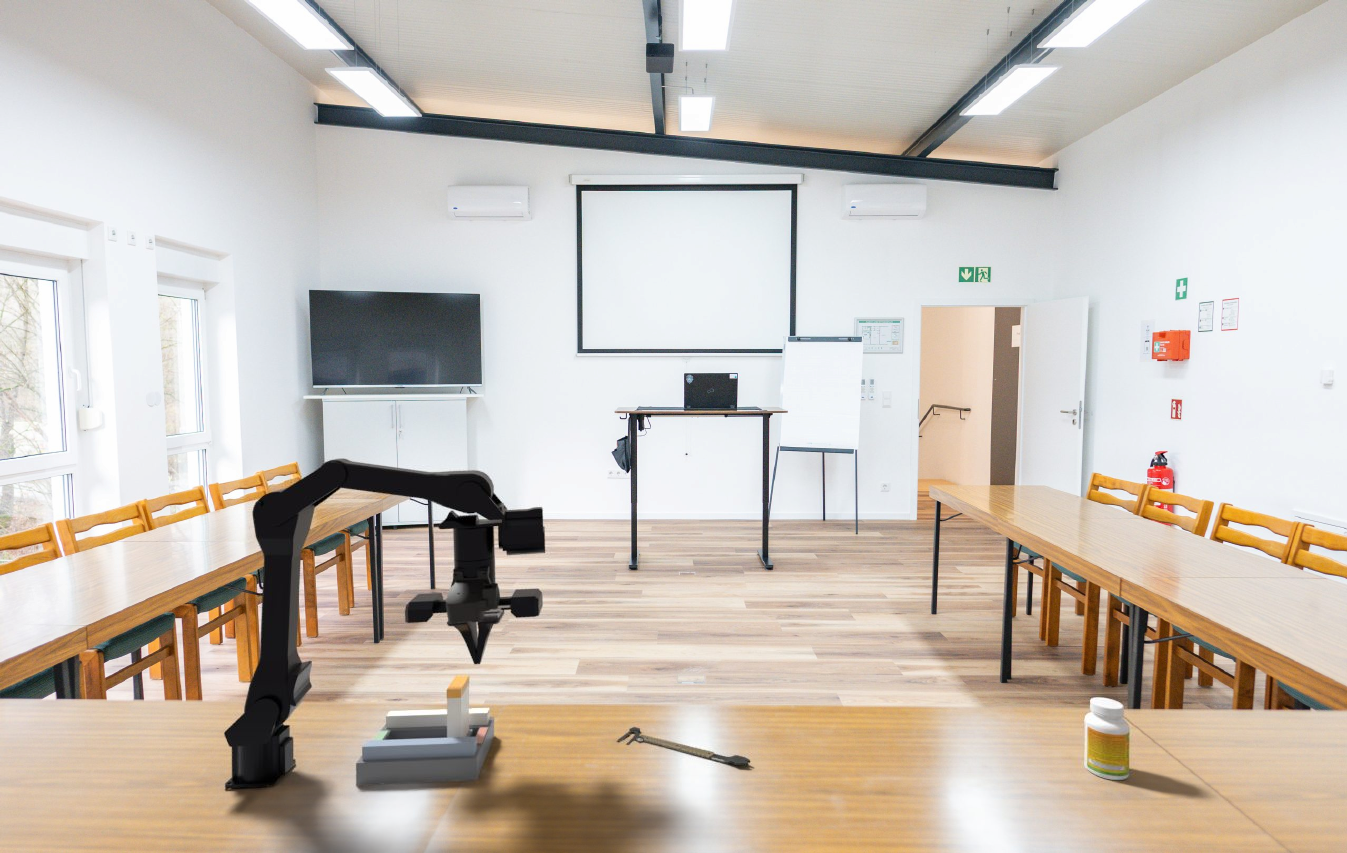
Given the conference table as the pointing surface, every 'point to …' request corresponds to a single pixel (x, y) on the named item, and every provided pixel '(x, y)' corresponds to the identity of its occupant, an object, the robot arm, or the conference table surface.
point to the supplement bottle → (1106, 740)
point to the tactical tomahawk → (684, 748)
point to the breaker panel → (424, 764)
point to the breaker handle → (458, 708)
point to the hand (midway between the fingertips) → (477, 663)
